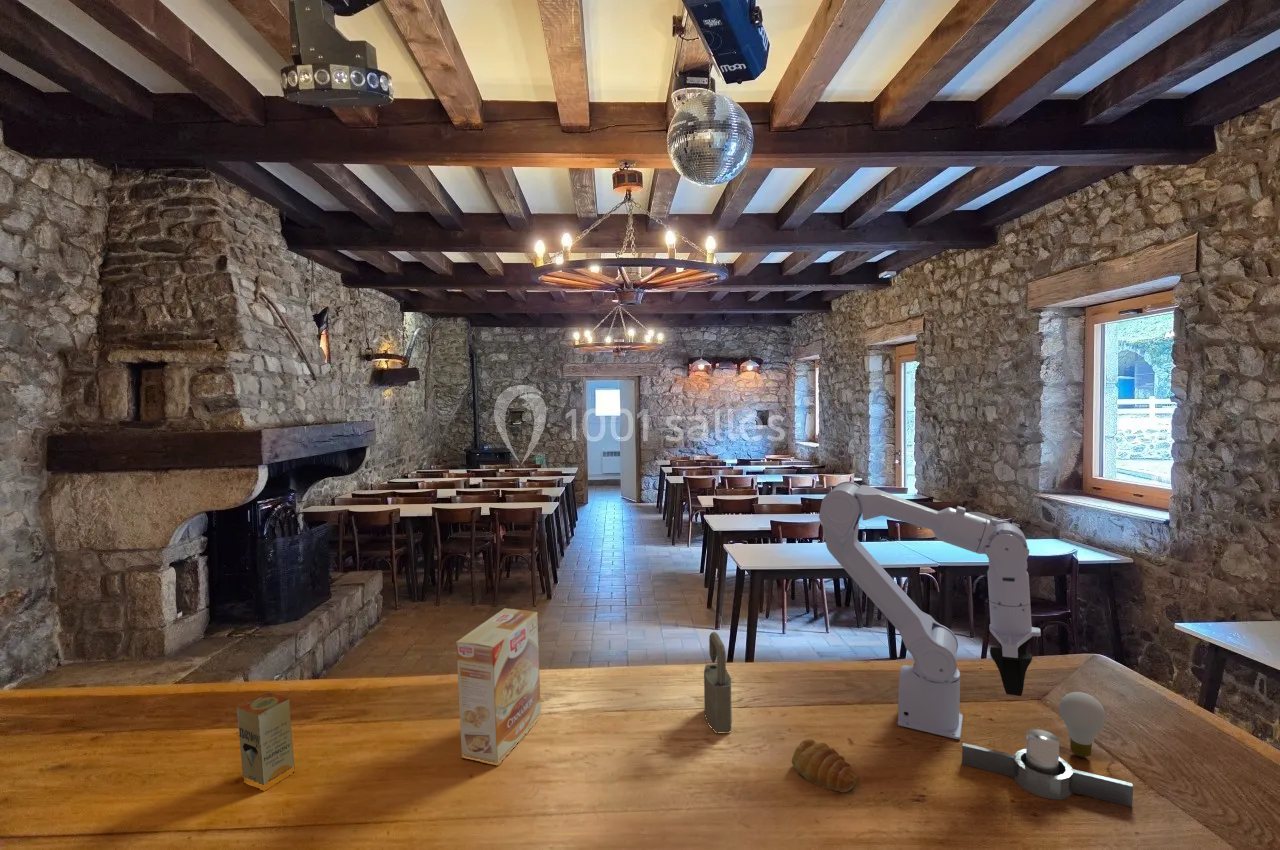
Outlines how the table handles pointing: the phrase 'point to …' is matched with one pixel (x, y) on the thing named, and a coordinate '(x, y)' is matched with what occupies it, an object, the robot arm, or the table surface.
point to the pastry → (823, 766)
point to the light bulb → (1082, 720)
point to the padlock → (717, 687)
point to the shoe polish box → (265, 738)
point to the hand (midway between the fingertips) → (1014, 683)
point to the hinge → (1048, 776)
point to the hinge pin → (1042, 752)
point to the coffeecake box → (498, 683)
